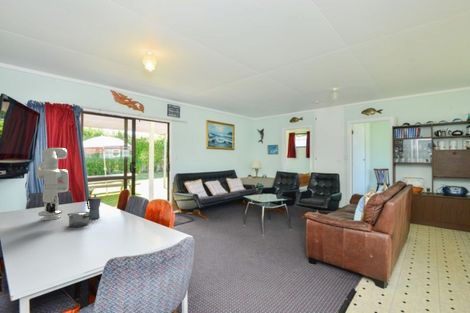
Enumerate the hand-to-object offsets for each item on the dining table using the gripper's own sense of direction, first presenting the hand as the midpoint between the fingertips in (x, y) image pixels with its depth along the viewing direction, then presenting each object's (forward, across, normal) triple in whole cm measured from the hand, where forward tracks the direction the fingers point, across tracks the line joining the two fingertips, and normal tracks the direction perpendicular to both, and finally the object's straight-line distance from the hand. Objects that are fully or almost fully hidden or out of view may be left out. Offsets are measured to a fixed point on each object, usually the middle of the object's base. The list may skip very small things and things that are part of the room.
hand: (50, 211), depth 170 cm
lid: (+2, 0, 0) cm, 2 cm away
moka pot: (+14, +4, +32) cm, 35 cm away
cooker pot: (+13, +12, +13) cm, 22 cm away
